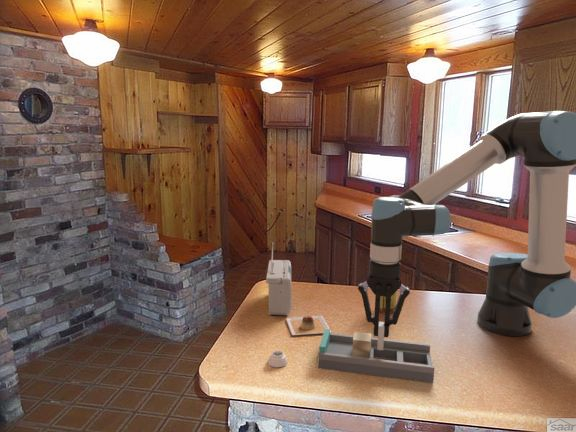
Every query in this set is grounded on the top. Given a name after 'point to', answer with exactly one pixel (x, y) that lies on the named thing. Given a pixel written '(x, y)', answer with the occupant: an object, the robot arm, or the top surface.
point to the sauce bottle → (383, 301)
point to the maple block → (361, 344)
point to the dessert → (307, 323)
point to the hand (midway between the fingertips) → (380, 347)
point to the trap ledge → (339, 357)
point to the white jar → (277, 359)
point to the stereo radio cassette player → (279, 286)
